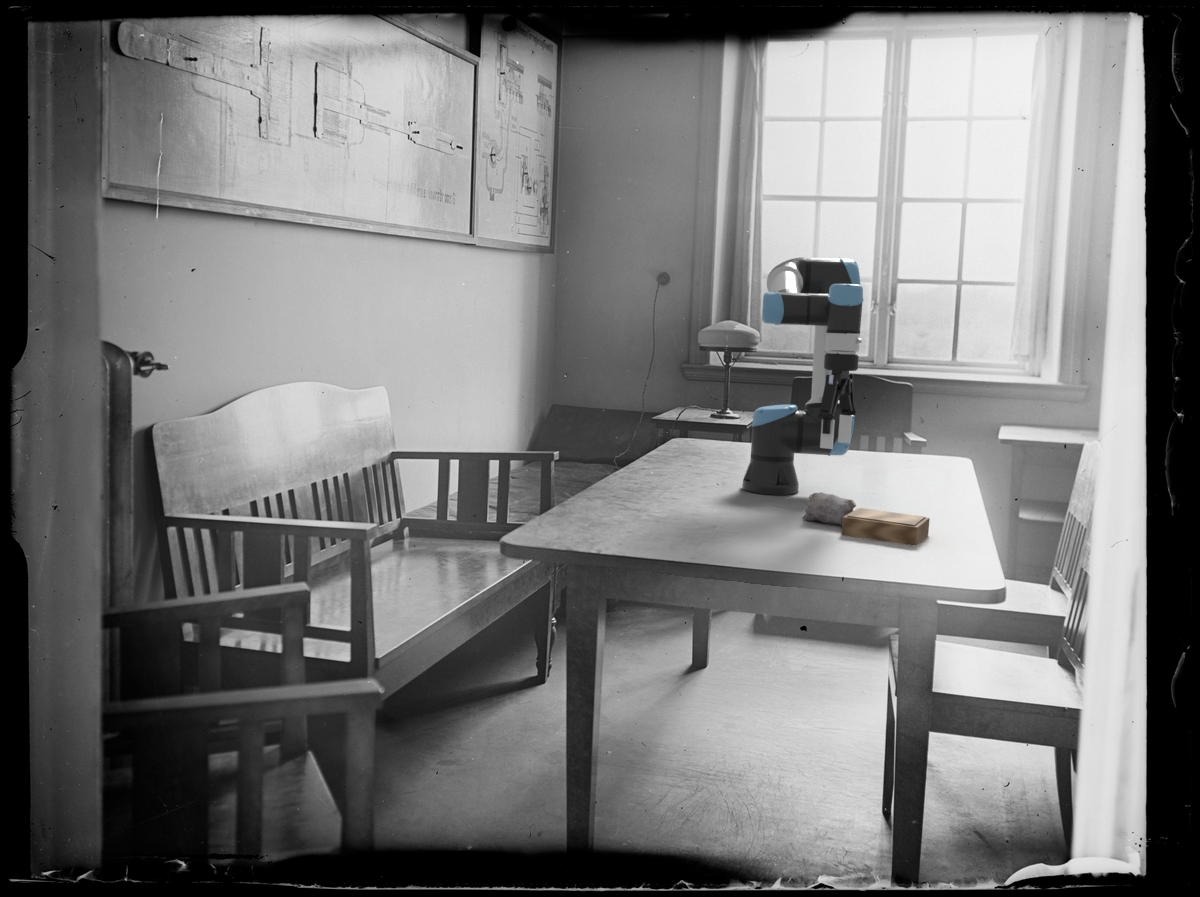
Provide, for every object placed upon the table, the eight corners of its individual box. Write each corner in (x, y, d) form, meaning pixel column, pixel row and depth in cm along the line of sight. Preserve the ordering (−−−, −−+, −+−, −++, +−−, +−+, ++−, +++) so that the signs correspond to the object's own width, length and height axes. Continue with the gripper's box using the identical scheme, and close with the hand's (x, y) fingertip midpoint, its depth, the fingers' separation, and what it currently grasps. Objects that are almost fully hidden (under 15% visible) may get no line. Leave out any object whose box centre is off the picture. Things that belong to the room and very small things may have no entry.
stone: (847, 529, 217) (850, 499, 216) (798, 521, 223) (800, 492, 222) (859, 524, 223) (862, 495, 222) (811, 516, 230) (813, 488, 229)
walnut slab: (841, 534, 211) (842, 515, 210) (856, 525, 221) (858, 507, 220) (915, 545, 203) (917, 526, 202) (928, 535, 213) (929, 516, 212)
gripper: (842, 354, 205) (835, 452, 208) (872, 353, 226) (866, 442, 229) (808, 352, 209) (801, 449, 212) (841, 351, 230) (835, 439, 233)
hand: (835, 445), depth 220 cm, fingers open, 13 cm apart
